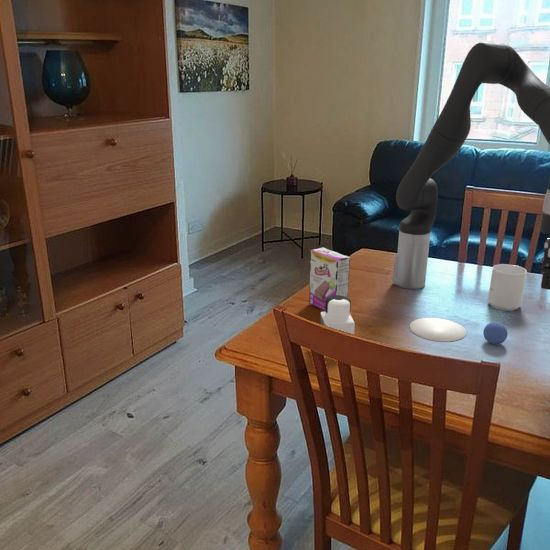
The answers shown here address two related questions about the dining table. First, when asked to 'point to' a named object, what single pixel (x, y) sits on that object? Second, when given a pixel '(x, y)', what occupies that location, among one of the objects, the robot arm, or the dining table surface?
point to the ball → (495, 333)
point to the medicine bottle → (338, 314)
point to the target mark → (437, 329)
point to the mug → (507, 287)
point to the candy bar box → (327, 276)
